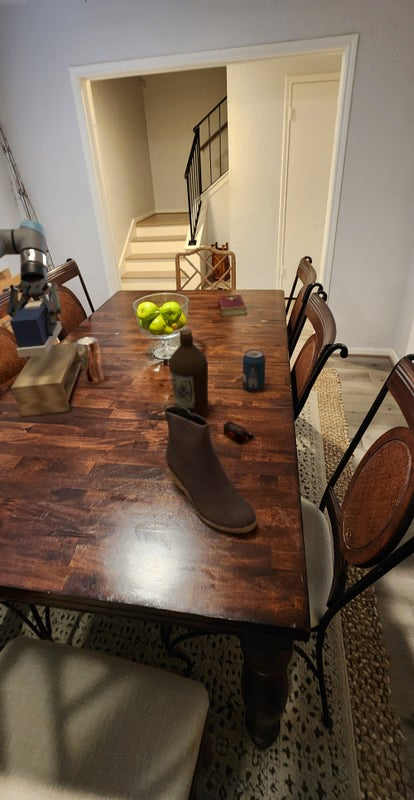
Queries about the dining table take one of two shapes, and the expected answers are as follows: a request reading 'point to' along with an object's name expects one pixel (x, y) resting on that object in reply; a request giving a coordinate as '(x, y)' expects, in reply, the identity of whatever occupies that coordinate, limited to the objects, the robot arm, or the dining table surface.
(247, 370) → the soda can
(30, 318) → the navy block on base
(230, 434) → the wireless earbuds
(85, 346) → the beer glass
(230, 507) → the boot
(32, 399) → the tan long block
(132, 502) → the dining table surface
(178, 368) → the olive oil
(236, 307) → the hardcover book
